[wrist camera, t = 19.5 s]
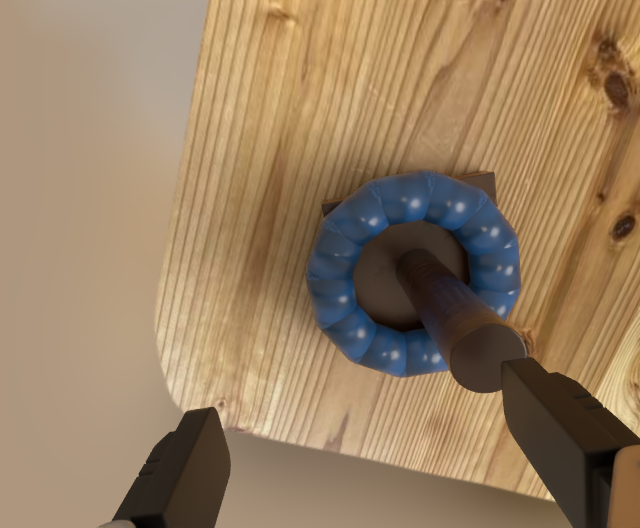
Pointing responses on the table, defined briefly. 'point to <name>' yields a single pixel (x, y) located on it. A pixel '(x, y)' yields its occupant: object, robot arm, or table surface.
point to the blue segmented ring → (396, 208)
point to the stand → (435, 295)
